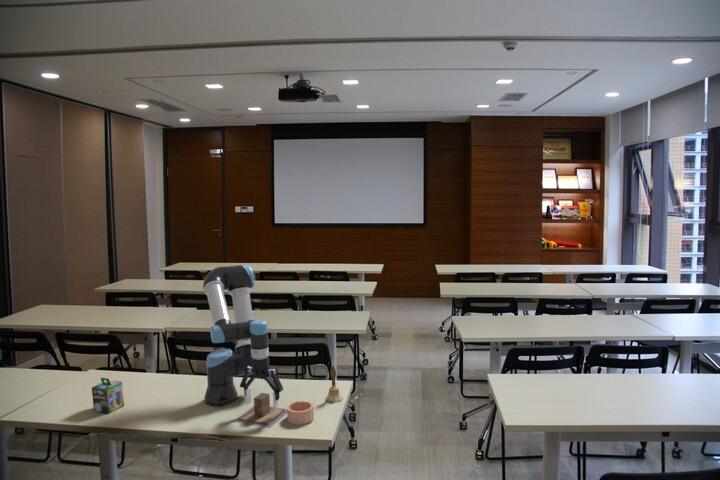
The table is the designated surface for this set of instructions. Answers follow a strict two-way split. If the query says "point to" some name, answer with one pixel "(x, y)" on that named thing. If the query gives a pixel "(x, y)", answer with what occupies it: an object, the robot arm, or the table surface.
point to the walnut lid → (262, 411)
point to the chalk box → (107, 396)
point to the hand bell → (333, 389)
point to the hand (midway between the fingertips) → (262, 405)
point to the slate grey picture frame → (261, 424)
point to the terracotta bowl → (300, 412)
